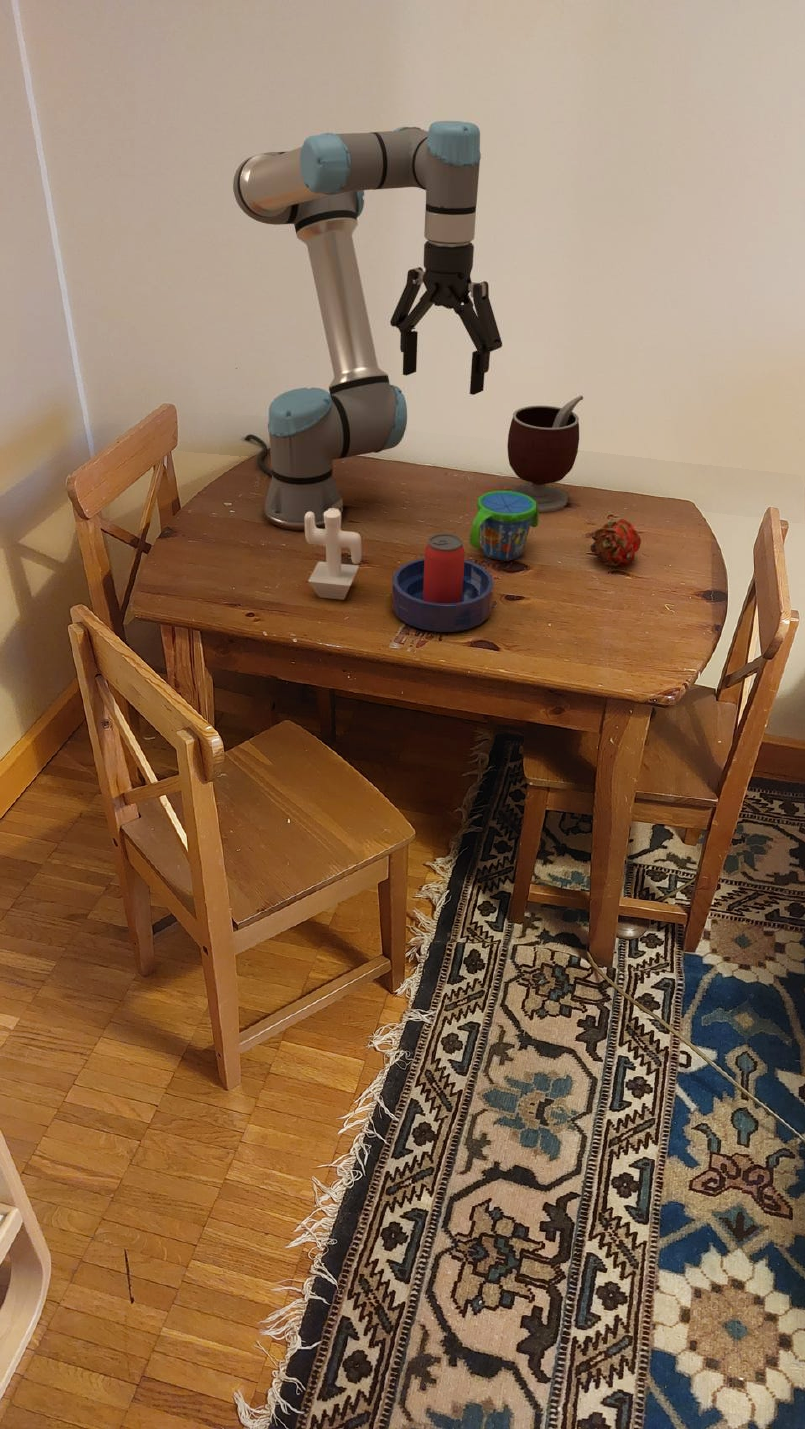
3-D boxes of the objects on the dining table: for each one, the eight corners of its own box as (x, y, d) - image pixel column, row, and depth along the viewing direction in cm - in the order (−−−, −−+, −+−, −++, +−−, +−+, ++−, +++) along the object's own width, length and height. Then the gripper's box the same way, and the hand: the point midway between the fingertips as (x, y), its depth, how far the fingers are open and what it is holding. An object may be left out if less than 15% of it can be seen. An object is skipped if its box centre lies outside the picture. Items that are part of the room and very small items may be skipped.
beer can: (420, 596, 171) (423, 532, 164) (459, 595, 172) (463, 531, 165) (424, 616, 166) (427, 551, 159) (464, 615, 167) (468, 550, 160)
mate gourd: (529, 519, 198) (539, 419, 186) (489, 493, 208) (497, 396, 196) (591, 503, 205) (605, 406, 193) (550, 479, 214) (560, 385, 202)
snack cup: (517, 532, 193) (522, 482, 187) (553, 554, 186) (559, 503, 180) (451, 552, 186) (454, 500, 180) (486, 575, 179) (490, 523, 173)
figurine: (356, 605, 170) (356, 524, 161) (302, 599, 171) (298, 518, 162) (365, 585, 176) (365, 505, 167) (313, 579, 177) (310, 500, 168)
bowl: (390, 585, 176) (390, 557, 172) (484, 584, 177) (487, 556, 173) (394, 635, 162) (395, 606, 159) (497, 634, 163) (499, 605, 160)
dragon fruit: (603, 584, 181) (609, 563, 191) (647, 563, 177) (651, 543, 187) (580, 543, 178) (588, 524, 189) (624, 521, 175) (630, 503, 185)
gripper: (533, 251, 147) (519, 394, 160) (400, 225, 160) (397, 360, 172) (504, 259, 143) (492, 407, 155) (369, 232, 155) (368, 371, 168)
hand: (442, 383), depth 164 cm, fingers open, 13 cm apart
